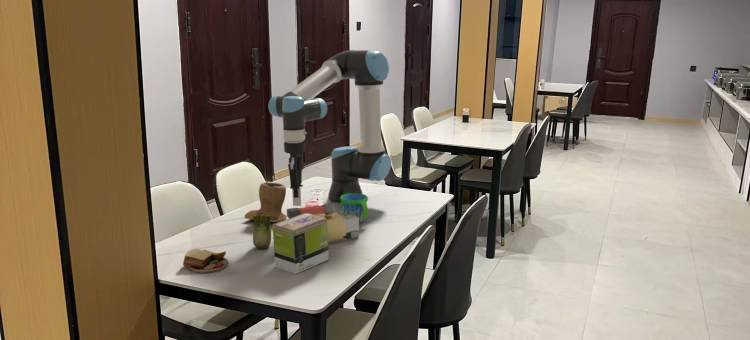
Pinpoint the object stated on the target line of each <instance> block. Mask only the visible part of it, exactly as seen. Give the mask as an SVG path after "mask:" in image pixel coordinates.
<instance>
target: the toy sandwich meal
mask: <svg viewBox="0 0 750 340" xmlns="http://www.w3.org/2000/svg"><path fill="white" fill-rule="evenodd" d="M226 253H227V251H222V252H214V251H209V250H207V249H203V250H202V249H199V248H194V249H191V250H188V251H187V252H186V253H185V254H184V257H183V262H182V265H183V266H184V267H187V268H188V269H189V270H190V271H192V272H194V273H198V274H206V273H207V274H210V273H215V272H218V271H221V270H223V269H225V268H226V267H227V266H228V264H229V259H228V258H226V257H225V256H226Z"/></svg>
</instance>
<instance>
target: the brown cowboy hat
mask: <svg viewBox="0 0 750 340" xmlns="http://www.w3.org/2000/svg"><path fill="white" fill-rule="evenodd" d="M258 195H259V197H258V198H259V202H260V208H259V209H254V210H253V209H252V210H249V211H247V212H246V213H245V214H244V216H243V217H244V218H245V219H247V220H253V215H260V219H261V215H265V222H266V217H267V215H268V216H270V223H278V222H281V221H283V220H286V219H288V217H287V214H285V213H283V212H282V207H283V205H284V202H285V199H286V195H287V187H286V185H284V184H283V183H277V182H267V181H265V182H264V181H263V182H262V183H261V184H260V185H259V189H258ZM257 220H258V219H257ZM253 221H254V220H253Z"/></svg>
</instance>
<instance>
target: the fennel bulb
mask: <svg viewBox="0 0 750 340" xmlns="http://www.w3.org/2000/svg"><path fill="white" fill-rule="evenodd" d="M257 219H258V220H257ZM252 231H253V232H252V243H253V244H252V245H253V246H254V247H255V248H257V249H259V250H260V249H261V250H264V249H268V248H269V247H270V244H271V241H272V229H271V222H270V216H268V215H267V217H266V222H265V215H261V219H260V215H253V230H252Z"/></svg>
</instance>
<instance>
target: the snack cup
mask: <svg viewBox="0 0 750 340" xmlns="http://www.w3.org/2000/svg"><path fill="white" fill-rule="evenodd" d="M368 200H369V196H367V194H363V193H362V194H359V193H349V194H344V195H342V196H341V198H340V201H341V203H339V204H340V205H339V206H340V209H342V214H343V215H342V216H345V215H350V214H353V215H355V216H357V217H359V225H360V224H361V223H363V222H364V220H365V219H367V218H368V217H369V210H368V204H367V203H368Z"/></svg>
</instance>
